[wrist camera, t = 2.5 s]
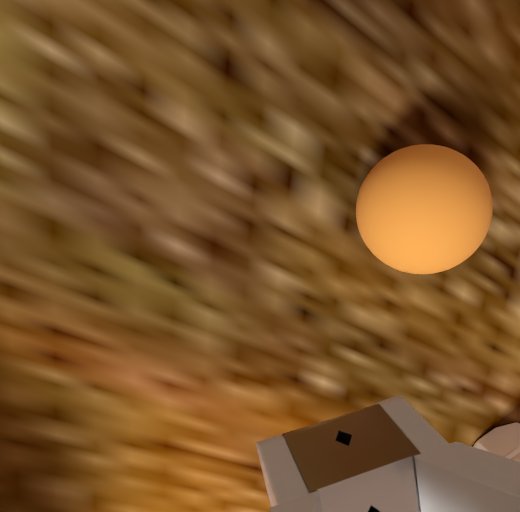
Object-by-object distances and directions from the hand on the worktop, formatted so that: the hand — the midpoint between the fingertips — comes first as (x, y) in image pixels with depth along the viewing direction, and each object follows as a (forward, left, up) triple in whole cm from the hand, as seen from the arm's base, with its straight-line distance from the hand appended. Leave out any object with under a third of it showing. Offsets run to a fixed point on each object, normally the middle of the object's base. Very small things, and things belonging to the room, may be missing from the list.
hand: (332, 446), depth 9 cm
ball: (0, +9, -12) cm, 16 cm away
